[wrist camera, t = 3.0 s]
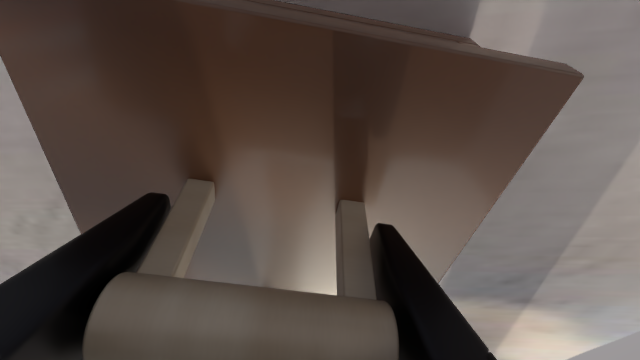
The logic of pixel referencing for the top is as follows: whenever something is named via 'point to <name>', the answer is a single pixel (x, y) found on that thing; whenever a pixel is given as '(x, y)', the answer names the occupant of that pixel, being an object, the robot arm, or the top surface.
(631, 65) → the top surface
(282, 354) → the lid
